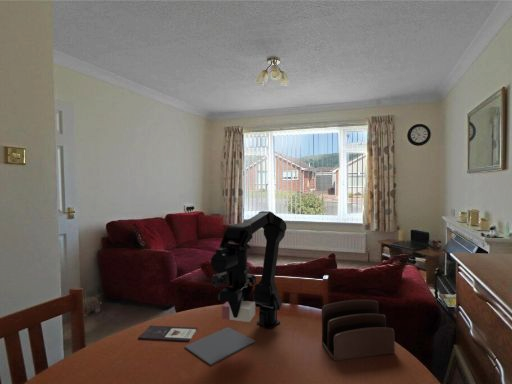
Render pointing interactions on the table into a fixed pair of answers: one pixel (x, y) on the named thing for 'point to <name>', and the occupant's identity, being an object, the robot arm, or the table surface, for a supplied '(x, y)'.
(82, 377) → the table surface
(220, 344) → the mat
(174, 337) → the chocolate bar
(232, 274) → the robot arm
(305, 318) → the table surface
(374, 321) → the letter holder
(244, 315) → the card box
